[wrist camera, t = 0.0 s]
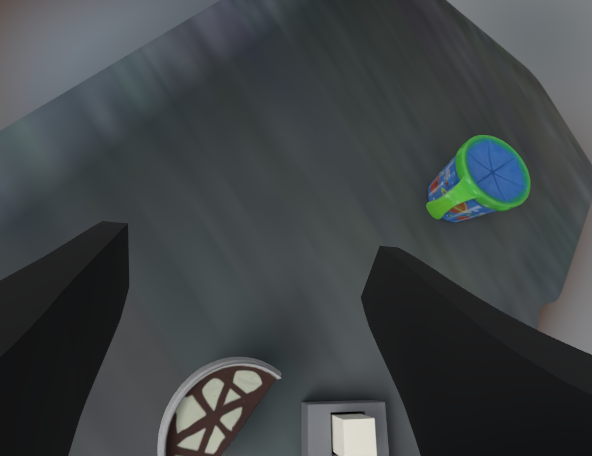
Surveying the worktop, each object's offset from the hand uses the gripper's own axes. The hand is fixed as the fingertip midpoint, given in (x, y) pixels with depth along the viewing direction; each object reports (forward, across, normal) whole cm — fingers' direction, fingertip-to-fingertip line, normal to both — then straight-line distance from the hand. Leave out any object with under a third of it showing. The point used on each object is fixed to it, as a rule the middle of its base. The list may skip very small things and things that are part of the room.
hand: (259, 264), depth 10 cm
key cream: (+12, -15, +30) cm, 35 cm away
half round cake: (+16, 0, +29) cm, 33 cm away
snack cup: (+37, -34, +11) cm, 51 cm away
